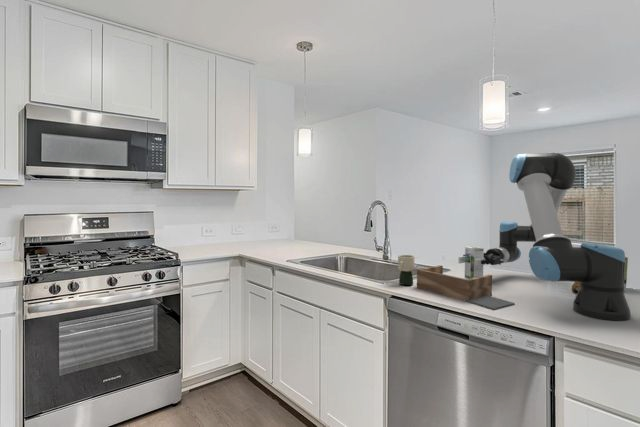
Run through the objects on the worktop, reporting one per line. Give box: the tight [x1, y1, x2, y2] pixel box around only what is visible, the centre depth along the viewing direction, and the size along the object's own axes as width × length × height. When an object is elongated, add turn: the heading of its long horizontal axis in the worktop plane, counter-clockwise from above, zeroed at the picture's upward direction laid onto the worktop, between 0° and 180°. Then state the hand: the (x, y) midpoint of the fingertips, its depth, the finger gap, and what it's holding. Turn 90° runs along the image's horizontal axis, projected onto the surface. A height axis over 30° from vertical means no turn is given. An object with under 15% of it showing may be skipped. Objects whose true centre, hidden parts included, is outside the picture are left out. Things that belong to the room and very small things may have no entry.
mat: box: [465, 295, 515, 311], centre depth 132 cm, size 12×12×1 cm
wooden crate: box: [416, 265, 493, 302], centre depth 148 cm, size 16×25×8 cm, turn 34°
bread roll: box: [571, 282, 580, 295], centre depth 143 cm, size 10×10×8 cm
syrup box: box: [464, 245, 485, 279], centre depth 156 cm, size 6×6×14 cm
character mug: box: [397, 254, 415, 286], centre depth 160 cm, size 11×7×13 cm, turn 140°
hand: (467, 261), depth 154 cm, fingers closed on syrup box, 7 cm apart
